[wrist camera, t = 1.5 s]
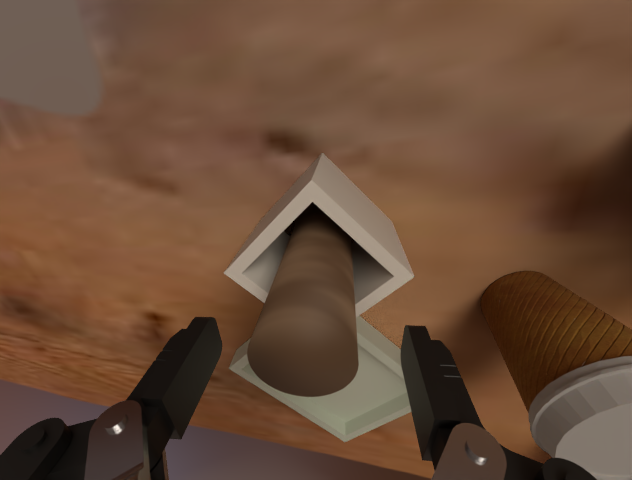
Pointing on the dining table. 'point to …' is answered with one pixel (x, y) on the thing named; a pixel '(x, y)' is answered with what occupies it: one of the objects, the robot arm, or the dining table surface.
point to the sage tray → (349, 388)
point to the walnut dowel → (309, 313)
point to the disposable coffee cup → (566, 370)
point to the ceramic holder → (346, 211)
